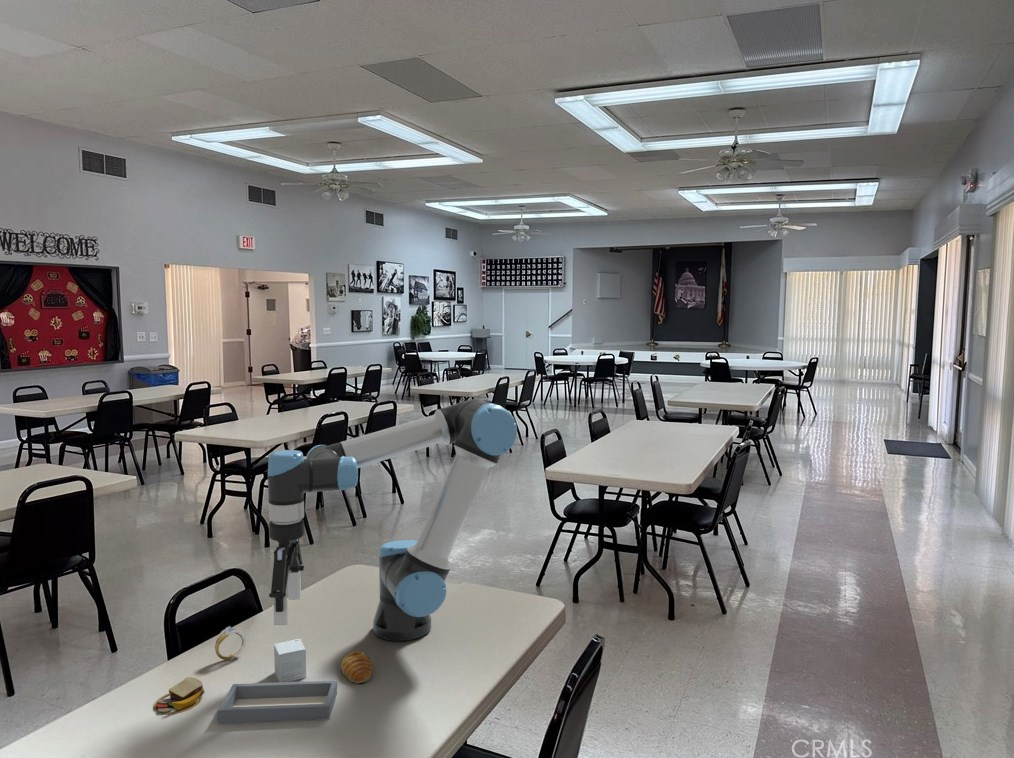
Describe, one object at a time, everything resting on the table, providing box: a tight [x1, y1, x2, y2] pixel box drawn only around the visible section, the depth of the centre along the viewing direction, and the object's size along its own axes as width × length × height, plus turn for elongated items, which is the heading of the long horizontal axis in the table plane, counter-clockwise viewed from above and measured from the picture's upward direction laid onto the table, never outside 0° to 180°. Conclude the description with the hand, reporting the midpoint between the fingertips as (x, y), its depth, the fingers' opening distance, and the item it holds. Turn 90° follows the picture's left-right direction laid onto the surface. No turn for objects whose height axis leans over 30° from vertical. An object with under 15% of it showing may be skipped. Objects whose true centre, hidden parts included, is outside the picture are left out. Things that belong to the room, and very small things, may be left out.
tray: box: [217, 680, 338, 725], centre depth 146 cm, size 22×10×4 cm, turn 95°
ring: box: [214, 625, 247, 661], centre depth 167 cm, size 7×3×8 cm, turn 122°
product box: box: [273, 638, 307, 683], centre depth 160 cm, size 6×6×7 cm
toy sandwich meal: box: [153, 676, 205, 715], centre depth 149 cm, size 9×10×4 cm
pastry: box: [340, 650, 373, 684], centre depth 160 cm, size 9×7×4 cm
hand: (288, 611), depth 159 cm, fingers open, 13 cm apart
